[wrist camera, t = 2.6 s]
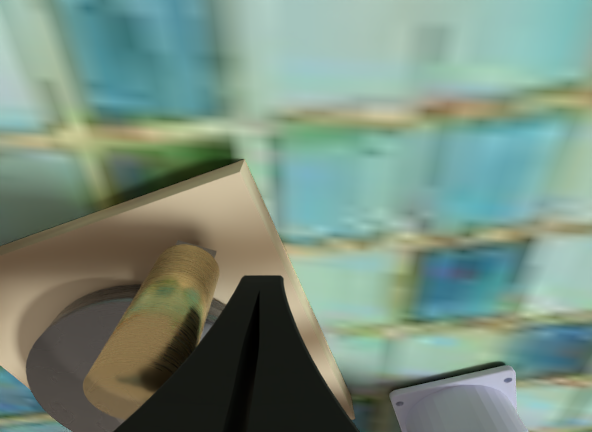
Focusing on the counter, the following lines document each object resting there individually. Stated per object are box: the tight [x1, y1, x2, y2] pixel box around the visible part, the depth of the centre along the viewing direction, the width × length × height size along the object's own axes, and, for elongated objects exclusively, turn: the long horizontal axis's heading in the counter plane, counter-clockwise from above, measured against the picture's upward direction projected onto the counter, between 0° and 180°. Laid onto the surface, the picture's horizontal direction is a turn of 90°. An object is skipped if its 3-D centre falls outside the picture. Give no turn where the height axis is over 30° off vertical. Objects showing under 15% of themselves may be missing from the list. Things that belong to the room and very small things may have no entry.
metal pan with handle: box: [26, 240, 225, 432], centre depth 14 cm, size 17×12×6 cm
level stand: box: [0, 159, 355, 420], centre depth 18 cm, size 18×17×2 cm
